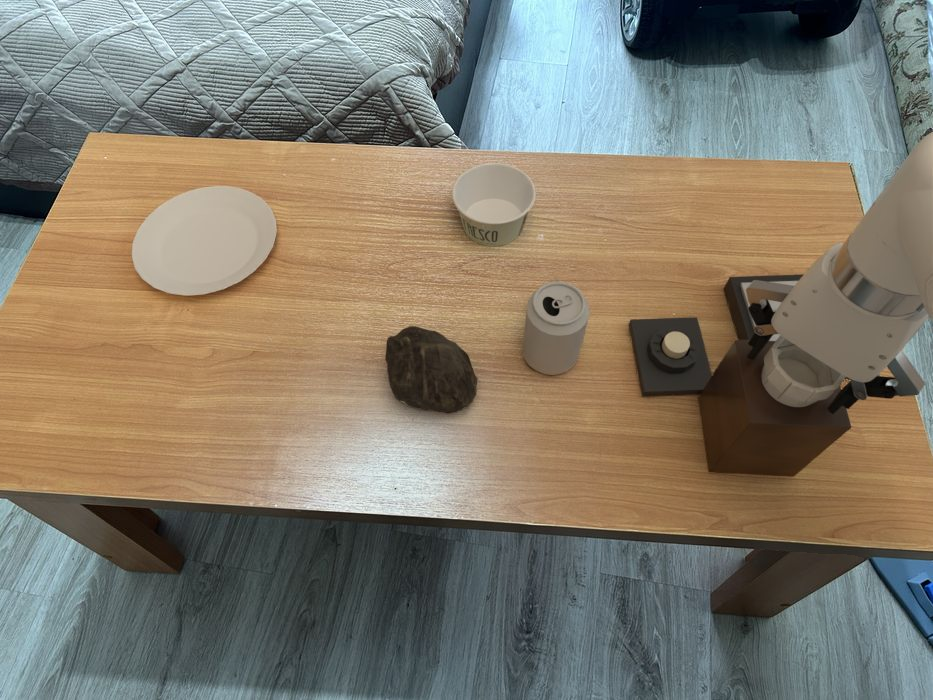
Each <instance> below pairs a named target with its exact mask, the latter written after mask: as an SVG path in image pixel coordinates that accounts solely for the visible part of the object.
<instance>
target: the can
mask: <svg viewBox="0 0 933 700" xmlns="http://www.w3.org/2000/svg"><path fill="white" fill-rule="evenodd" d="M589 318H590V305H589V302H588V300H587V299H586V298H585V295H584V294H583V292H582V291H581V289H579V288H578V287H577V286H576V285H574V284H572V283H569V282H567V281H562V280H561V281H560V280H553V281H548V282H547V283H544V284H542V285H541V286H539V287H538V288H537V289H536V290H535V291H534V292H532V294H531V295H530V297H529V298H528V300H527V304H526V312H525V321H524V330H523V340H522V348H521V352H522V355H523V358H524V360H525V362H526V363H527V365H528V366H529V367H531V368H532V369H533V370H534V371H536V372H538V373H541V374H543V375H550V376H554V375H562V374H564V373H567V372H568V371H570V370H571V369H572V368H573V367H574V366H575V365H576V363H577V362H578V359H579V358H580V354H581V350H582V345H583V342H584V337H585V335H586V330H587V327H588V322H589Z"/></svg>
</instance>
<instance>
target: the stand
mask: <svg viewBox="0 0 933 700" xmlns="http://www.w3.org/2000/svg"><path fill="white" fill-rule="evenodd" d="M749 341H750V340H738V339H734V340H733V342H732V343H731V345H730V347H729V348H728V350H727V351H726V353H725V354H724V356H723V358H722V359H721V361H720V362H719V363H718V365H717V368H716V369H715V370H714V372H713V373H712V377H711V378H710V380H709V381H708V383H707V385H706V386H705V388H704V389H703V391H702V393H701V394H700V395H698V397H697V399H698V400H697V401H698V408H699V414H700V421H701V428H702V435H703V441H704V450H705V455H706V456H705V458H706V463H707V471H708V473H711V474H732V475H754V476H755V475H756V476H775V477H777V476H778V477H795V476H796V475H798V474H799V473H800V472H802V471H803V470H804V469H805V468H806V467H807V466H808V465H809V464H810V463H812V462H813V461H814V460H816V459H817V458H818V457H819V456H820V455H821V454H822V453H824V452H825V451H826V450H827V449H828V448H829V447H831V446H832V445H833V444H834V443H836V441H837V440H839V439H840V438H842V437H843V435H845V434H846V433H847V432H848V431H849V430H850V429H852V424H851V420H850V417H849V412H848V409H847V408H845V407H844V406H842V407H841V408H839V409H838V410H837V411H836V412H835V413H834V414H832V413H830V412H829V410H828V409H827V408H828V407H829V406H830V404H831V403H832V402H833V400H834V399H835V397H836V396H837V395H838V393H839V392H840V391H841V390H842V388H841V385H840V386H839V387H838V388H837V389H836V390H835V391H834V392H833V393H832V394H831V395H830V396H829V397H828V398H827V399H824V400H818V401H816V402H815V403H813V404H811V405H808V406H805V407H791V406H787V405H785V404H782V403H780V402H778V401H777V400H775V399H774V398H773V397H772V396H771V395H770V394H769V393H768V392H767V391H766V389H765V387H764V385H763V383H762V377H761V375H762V369H763V366H764V365H765V364H764V358H765V357H764V356H765V355H766V354H767V352H768V351H769V350H770V348H771V347H772V346H773V344H774V343H775V342H776V341H768V343H767V344H766V345H765V346H764V348H763V349H762V350H761V351H760V353H759V354H758V355H757V356H756V357H755V359H754V360H752V359H751V360H750V359H748V358H747V356H748V354H749V353H750V351H751V350H752V348H753V347H752V346H750V345H748V342H749ZM794 345H795V344H794ZM789 346H791V345H789ZM783 347H786V346H783ZM779 348H780V347H778V349H779ZM830 373H831V370H830ZM831 378H832V375H831ZM832 382H833V381H832ZM832 382H831V384H832Z"/></svg>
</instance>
